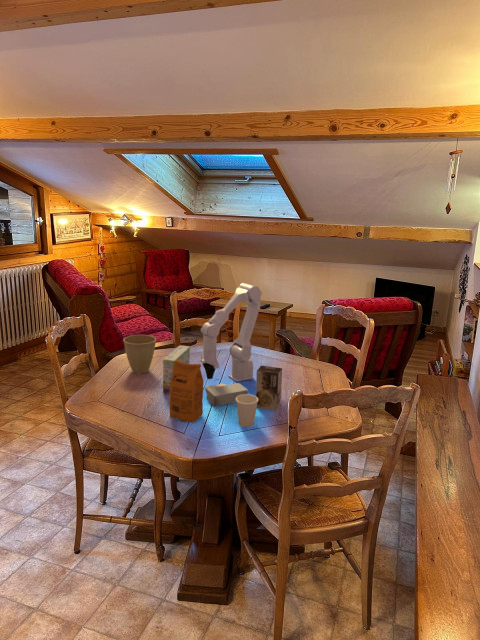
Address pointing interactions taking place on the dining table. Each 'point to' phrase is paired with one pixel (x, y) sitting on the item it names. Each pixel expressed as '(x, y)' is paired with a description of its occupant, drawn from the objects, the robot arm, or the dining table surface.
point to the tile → (214, 386)
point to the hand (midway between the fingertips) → (209, 378)
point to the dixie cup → (246, 409)
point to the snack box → (178, 354)
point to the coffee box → (268, 387)
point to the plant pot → (140, 352)
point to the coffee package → (186, 392)
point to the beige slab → (225, 394)
